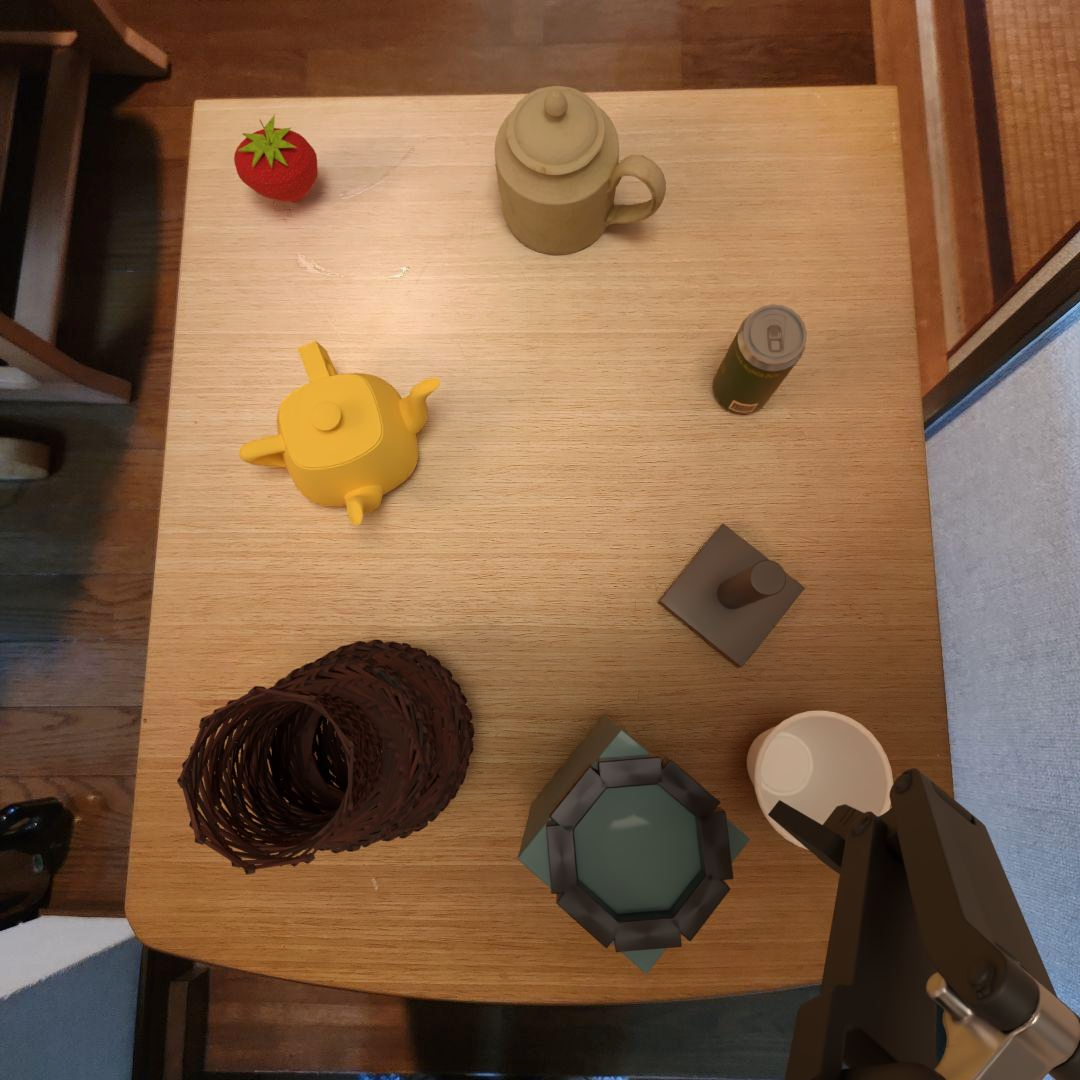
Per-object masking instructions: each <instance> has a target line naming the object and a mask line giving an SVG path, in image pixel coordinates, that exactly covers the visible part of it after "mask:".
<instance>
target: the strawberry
mask: <svg viewBox="0 0 1080 1080" xmlns="http://www.w3.org/2000/svg"><path fill="white" fill-rule="evenodd" d="M275 117H276V115H275V114H274V115H273V116H272V117H271V118H270V119H269V121H268V122H267V123H266V125H265V126H264V124H263V121H262V120H261V118H259V119H258V121H259V123H260V125H261V126H262V129H260V130H259V129H258V130H257V131H255V132H252V133H250V132H249V133H248V132H242V136H244V137H245V138H244V139H243V140H242V141H241V142H240V143H239V145H237V147H236V150H235V152H234V157H233V162H234V166H235V170H236V173H237V174H238V177H239V179H240V180H241V181H242V182H243V183H244V184H245V185H246V186H248V187H249V188H250V189H251V190H252V191H254V192H256V193H257V194H258V195H260V196H262V197H264V198H267V199H271V200H275V201H278V202H283V203H284V202H285V203H299V202H301V201H302V200H303V199H304V198H305V197H306V196H307V195H308V194H309V193H310V191H311V190H312V188H313V186H314V185H315V183H316V180H317V179H318V173H319V170H318V169H319V168H318V157H317V153H316V150H315V149H314V147H313V146H312V145H311V144H310V143H309V141H308V140H307V139H306V138H305V137H304V136H303V135H301V134H300V133H298V132H296V131H294V130H291V129H292V127H286V128H280V127H275Z"/></svg>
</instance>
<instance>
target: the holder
mask: <svg viewBox="0 0 1080 1080" xmlns="http://www.w3.org/2000/svg"><path fill="white" fill-rule="evenodd" d="M805 589H806V586H803V584H801V583H800V582H798V581H797V580H796V579H795V578H794V577H792V576H791V575H790V574H789V573H787V572H786V571H785V569H784V568H783V566H782V565H781V564H780V563H778V562H776V561H775V560H771V559H769V558H768V557H767V556H765V554H763V553H762V552H760V551H759V550H758V549H757V548H756V547H754V546H753V545H752V544H751V543H749V542H748V541H747V540H745V539H744V538H743V537H742V536H740V535H739V534H738V533H737V532H735V531H734V530H732V529H731V528H730V527H728V525H726V524H725V523H722V524H720V525H719V527H717V529H716V530H715V531H714V533H712V534H711V536H710V538H709V539H708V540H707V541H705V543H704V545H703V546H702V547H701V548H700V550H699V551H698V552H697V553H696V554H695V556H694V557H693V558H692V559H691V561H690V562H689V563H688V564H687V565H686V567H685V568H684V569H683V570H682V572H681V573H680V574H679V575H678V577H677V578H676V579H675V580H674V582H673V583H672V584H671V585H670V586H669V587H668V589H667V590H666V591H665V593H663V595H662V596H661V597H660V599H659V600H658V601H657V603H658V604H659V605H660V606H661V607H662V608H664V609H665V610H666V611H668V613H670V614H671V615H672V616H674V617H675V618H676V620H679V622H681V623H682V624H684V626H686V627H687V628H688V629H689V630H690V631H692V632H693V633H694V634H696V635H697V636H698V637H700V638H701V639H702V640H703V641H704V642H706V643H707V644H708V645H709V646H710V647H712V649H714V650H715V651H717V652H718V653H719V654H720V655H721V656H723V657H724V658H725V659H726V660H728V661H729V662H730V663H731V664H733V665H734V666H735V667H736V668H738V669H741V668H743V667H744V666H745V665H746V663H747V662H748V661H749V660H750V658H751V657H752V656H753V655H754V654H755V652H756V651H757V650H758V648H759V647H760V646H761V645H762V643H763V642H764V641H765V639H767V637H768V635H769V634H771V632H772V631H773V629H774V628H775V627H776V625H777V624H778V623H779V622H780V620H782V618H783V617H784V615H785V614H786V613H787V612H788V611H789V609H790V608H791V606H792V605H793V604H794V603H795V602H796V600H797V599H798V598H799V597H800V595H801V594H802V593H803V592H804V590H805Z"/></svg>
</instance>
